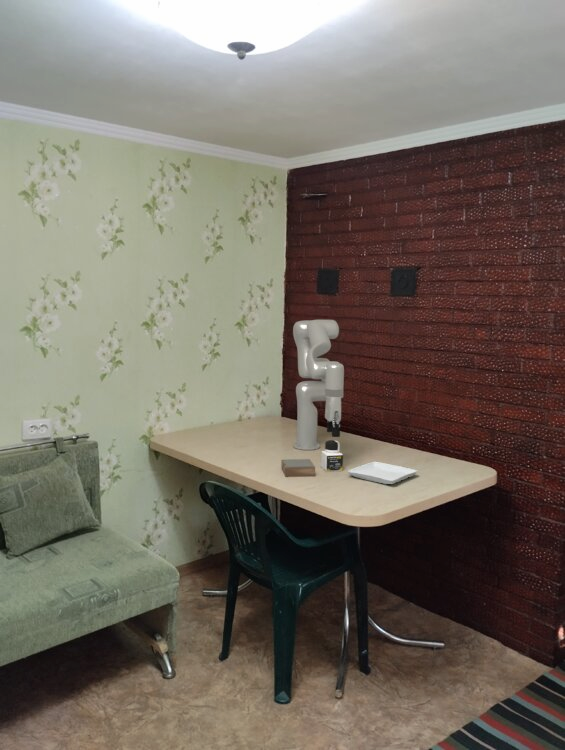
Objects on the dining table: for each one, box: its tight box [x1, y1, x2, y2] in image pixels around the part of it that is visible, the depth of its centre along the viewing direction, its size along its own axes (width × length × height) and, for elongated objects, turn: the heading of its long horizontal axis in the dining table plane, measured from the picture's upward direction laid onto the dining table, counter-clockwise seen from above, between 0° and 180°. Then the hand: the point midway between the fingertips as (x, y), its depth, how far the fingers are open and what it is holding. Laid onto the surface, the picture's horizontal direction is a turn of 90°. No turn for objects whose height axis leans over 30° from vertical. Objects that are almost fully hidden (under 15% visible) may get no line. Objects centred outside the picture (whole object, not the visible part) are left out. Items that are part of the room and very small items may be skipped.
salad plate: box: [347, 461, 419, 485], centre depth 257 cm, size 21×21×3 cm
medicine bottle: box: [320, 439, 344, 473], centre depth 267 cm, size 7×7×12 cm
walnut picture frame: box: [280, 458, 316, 478], centre depth 261 cm, size 12×12×4 cm
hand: (333, 434), depth 265 cm, fingers open, 9 cm apart
